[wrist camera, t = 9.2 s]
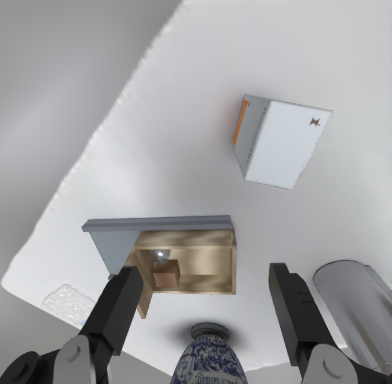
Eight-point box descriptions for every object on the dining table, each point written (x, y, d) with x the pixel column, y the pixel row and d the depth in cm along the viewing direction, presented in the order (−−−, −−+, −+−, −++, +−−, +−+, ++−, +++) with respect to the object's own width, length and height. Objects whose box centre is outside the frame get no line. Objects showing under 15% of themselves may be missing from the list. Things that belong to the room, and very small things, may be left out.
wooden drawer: (233, 227, 30) (240, 272, 22) (233, 274, 36) (238, 322, 28) (142, 229, 32) (120, 271, 24) (155, 273, 38) (141, 318, 30)
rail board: (229, 215, 30) (231, 223, 29) (230, 273, 38) (231, 283, 36) (88, 219, 34) (81, 227, 32) (114, 272, 41) (109, 281, 39)
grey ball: (170, 237, 31) (166, 250, 29) (173, 250, 33) (170, 263, 30) (152, 237, 32) (147, 250, 29) (156, 250, 33) (152, 264, 31)
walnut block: (177, 259, 34) (174, 273, 31) (180, 273, 36) (177, 287, 33) (157, 259, 35) (152, 273, 32) (161, 273, 36) (157, 287, 34)
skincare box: (243, 94, 22) (272, 96, 11) (278, 101, 22) (338, 109, 11) (230, 143, 25) (242, 181, 14) (260, 149, 25) (295, 192, 14)
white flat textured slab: (67, 280, 45) (61, 288, 43) (129, 317, 51) (126, 325, 50) (44, 297, 50) (38, 305, 48) (103, 329, 56) (99, 336, 55)
